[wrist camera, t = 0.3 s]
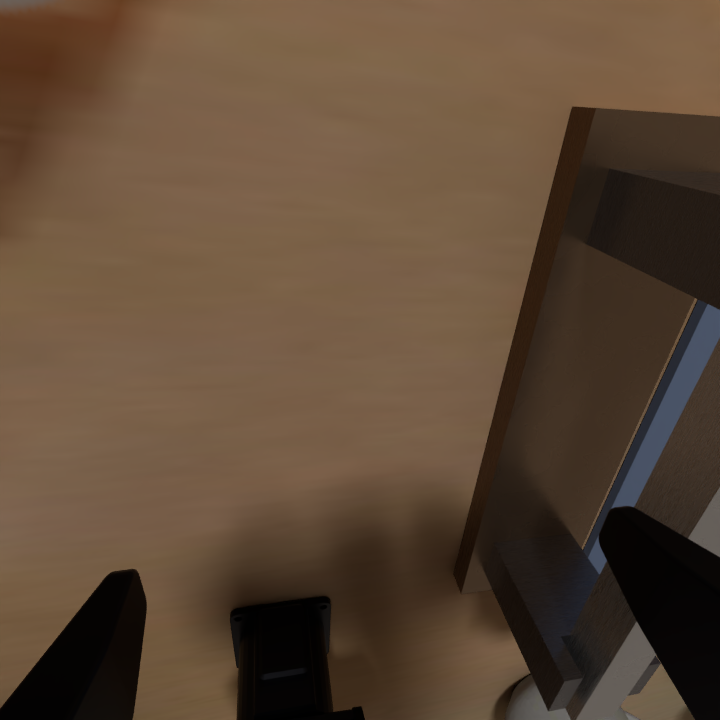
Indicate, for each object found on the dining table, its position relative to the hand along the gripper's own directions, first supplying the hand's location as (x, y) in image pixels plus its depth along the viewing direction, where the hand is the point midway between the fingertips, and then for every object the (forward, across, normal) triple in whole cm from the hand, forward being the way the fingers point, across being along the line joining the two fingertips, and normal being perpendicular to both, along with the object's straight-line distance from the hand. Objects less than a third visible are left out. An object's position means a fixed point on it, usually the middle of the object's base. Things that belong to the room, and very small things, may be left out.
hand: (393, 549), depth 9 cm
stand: (+14, -14, +7) cm, 21 cm away
